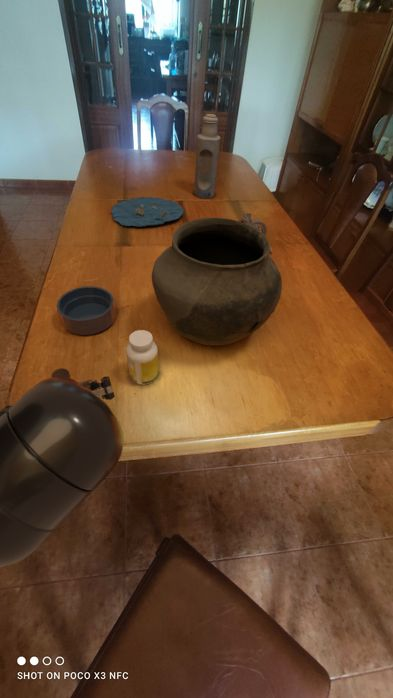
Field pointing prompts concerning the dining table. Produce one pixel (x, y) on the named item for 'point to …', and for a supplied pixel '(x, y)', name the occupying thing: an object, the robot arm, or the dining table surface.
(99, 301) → the bowl
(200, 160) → the bottle
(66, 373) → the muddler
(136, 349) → the pill bottle
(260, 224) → the spaceship
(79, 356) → the dining table surface
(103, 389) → the robot arm
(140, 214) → the decorative plate
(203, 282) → the pot
